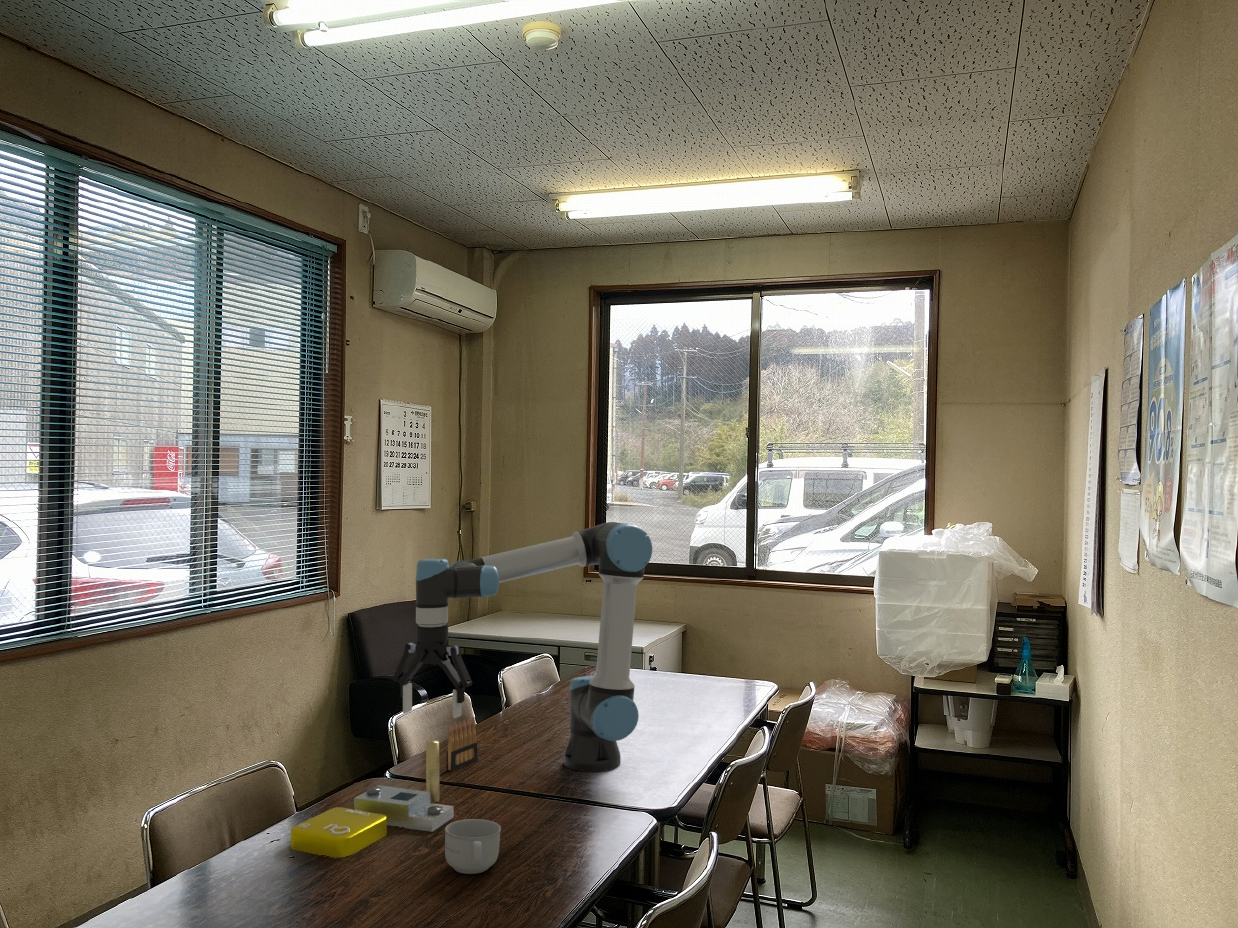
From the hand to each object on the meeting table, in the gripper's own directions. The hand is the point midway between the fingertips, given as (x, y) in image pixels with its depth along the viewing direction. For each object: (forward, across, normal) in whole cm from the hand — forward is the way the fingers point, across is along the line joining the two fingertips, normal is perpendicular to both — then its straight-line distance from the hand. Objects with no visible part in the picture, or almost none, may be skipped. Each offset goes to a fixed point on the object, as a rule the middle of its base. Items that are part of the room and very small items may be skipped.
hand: (432, 714), depth 216 cm
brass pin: (+20, 0, 0) cm, 20 cm away
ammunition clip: (+21, +7, -26) cm, 34 cm away
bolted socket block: (+20, 0, +12) cm, 24 cm away
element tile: (+21, +6, +27) cm, 35 cm away
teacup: (+21, -28, +31) cm, 47 cm away
